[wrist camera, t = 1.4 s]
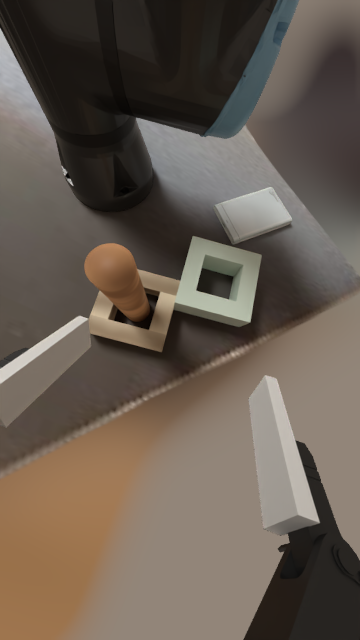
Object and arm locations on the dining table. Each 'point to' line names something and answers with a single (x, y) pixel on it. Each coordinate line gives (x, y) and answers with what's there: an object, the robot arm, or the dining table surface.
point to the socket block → (225, 262)
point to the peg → (118, 279)
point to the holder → (150, 339)
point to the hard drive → (252, 215)
